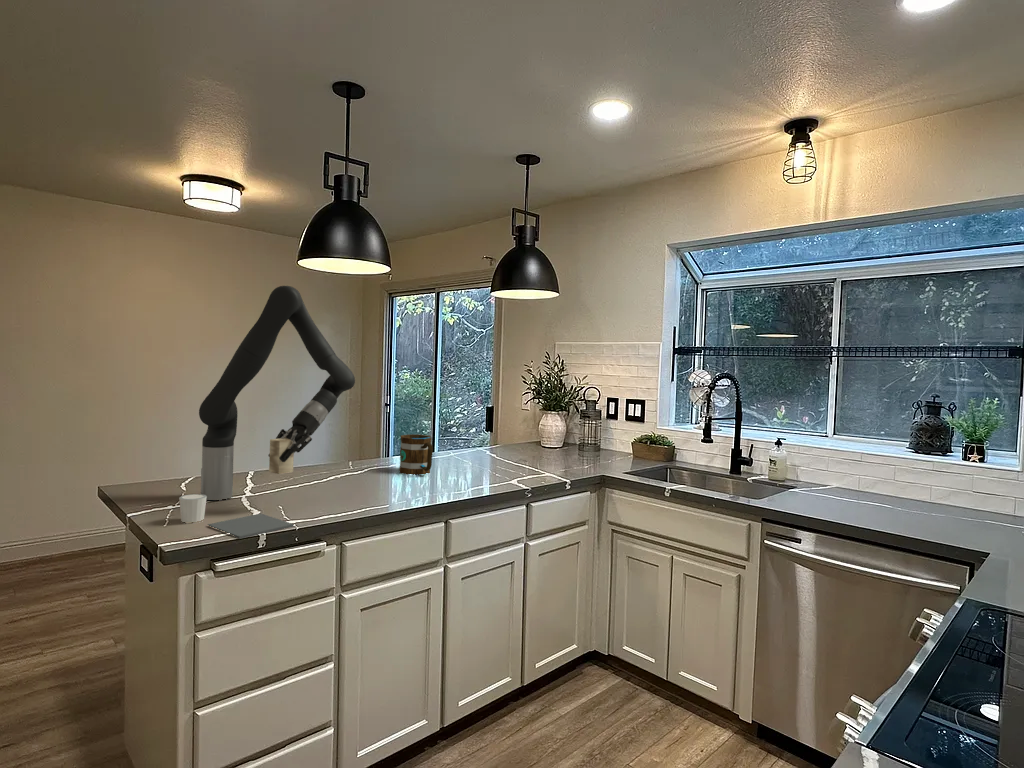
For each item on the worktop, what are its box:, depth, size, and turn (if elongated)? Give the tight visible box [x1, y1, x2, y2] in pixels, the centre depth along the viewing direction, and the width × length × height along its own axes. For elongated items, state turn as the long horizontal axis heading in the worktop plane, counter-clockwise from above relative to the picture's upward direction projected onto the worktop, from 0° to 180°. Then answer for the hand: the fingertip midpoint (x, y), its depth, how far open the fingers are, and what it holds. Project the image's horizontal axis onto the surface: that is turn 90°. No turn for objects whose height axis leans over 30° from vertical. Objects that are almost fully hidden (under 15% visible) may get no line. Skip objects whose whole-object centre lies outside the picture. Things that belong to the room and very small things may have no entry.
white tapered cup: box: [178, 493, 207, 523], centre depth 170 cm, size 7×7×7 cm
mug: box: [398, 433, 434, 476], centre depth 251 cm, size 20×14×15 cm
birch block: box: [268, 438, 295, 475], centre depth 186 cm, size 5×5×10 cm
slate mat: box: [207, 513, 294, 540], centre depth 168 cm, size 16×16×1 cm
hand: (276, 458), depth 184 cm, fingers closed on birch block, 5 cm apart
